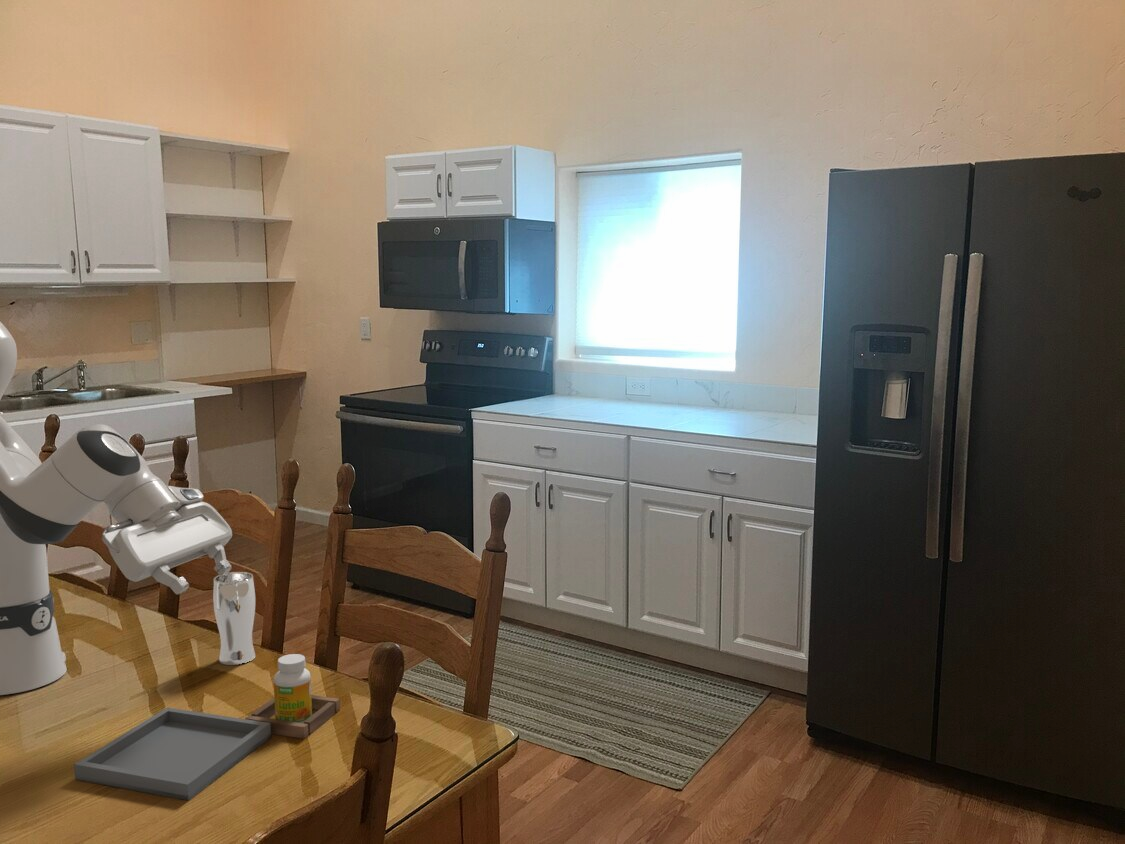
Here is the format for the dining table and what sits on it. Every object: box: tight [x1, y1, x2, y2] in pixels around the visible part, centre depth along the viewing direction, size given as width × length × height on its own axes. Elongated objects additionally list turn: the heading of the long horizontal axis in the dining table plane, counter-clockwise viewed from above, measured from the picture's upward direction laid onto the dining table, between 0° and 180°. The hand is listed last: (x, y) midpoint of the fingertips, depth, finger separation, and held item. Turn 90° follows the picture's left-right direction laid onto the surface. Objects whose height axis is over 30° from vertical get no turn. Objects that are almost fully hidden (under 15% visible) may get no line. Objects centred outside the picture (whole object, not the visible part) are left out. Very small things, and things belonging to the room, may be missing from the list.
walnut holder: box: [244, 694, 341, 740], centre depth 143 cm, size 10×10×2 cm
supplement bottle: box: [273, 653, 313, 723], centre depth 142 cm, size 5×5×10 cm
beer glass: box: [212, 571, 256, 666], centre depth 165 cm, size 7×7×15 cm
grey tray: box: [73, 707, 272, 801], centre depth 131 cm, size 18×18×2 cm
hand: (205, 581), depth 142 cm, fingers open, 8 cm apart
